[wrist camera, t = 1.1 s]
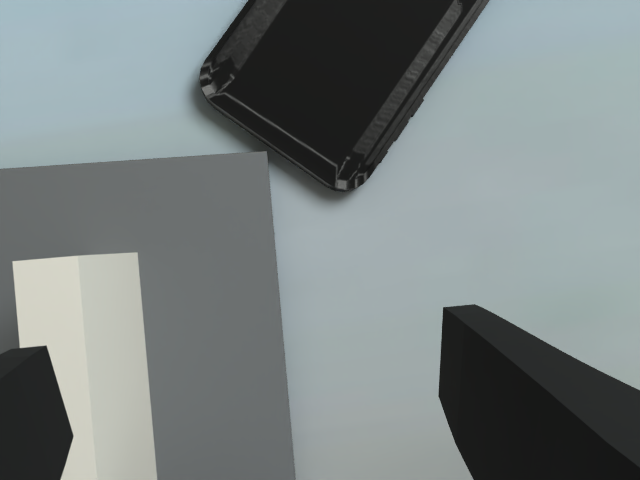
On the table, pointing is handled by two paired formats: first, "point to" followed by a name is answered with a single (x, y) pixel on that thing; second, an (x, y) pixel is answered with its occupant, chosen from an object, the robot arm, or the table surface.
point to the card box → (93, 358)
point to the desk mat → (176, 295)
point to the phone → (333, 76)
